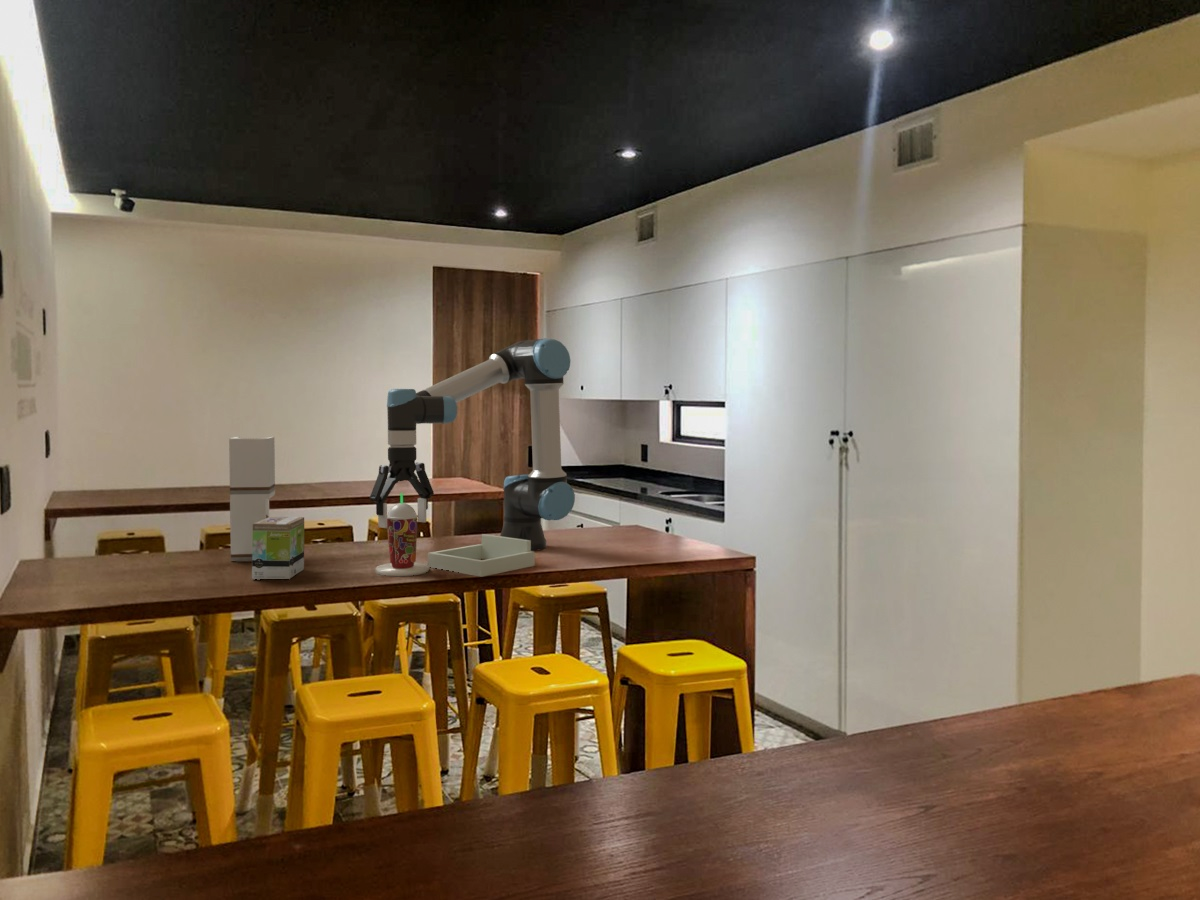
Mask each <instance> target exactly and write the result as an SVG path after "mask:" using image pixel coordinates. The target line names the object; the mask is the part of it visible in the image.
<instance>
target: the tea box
mask: <svg viewBox="0 0 1200 900" xmlns="http://www.w3.org/2000/svg"><path fill="white" fill-rule="evenodd" d="M304 569H305V517H301V516H299V517H298V516H269V517H268V518H265V519H263V520H261V521H258V522H256V523H253V542H252V561H251V579H252V580H255V579H257V580H258V581H260V579H289V580H290V579H291V578H293V577H294V576H295V575H297V574H299V573H300V572H302V571H303V570H304ZM257 580H256V581H257Z"/></svg>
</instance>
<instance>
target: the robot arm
mask: <svg viewBox="0 0 1200 900" xmlns="http://www.w3.org/2000/svg"><path fill="white" fill-rule="evenodd" d="M570 366H571V356H570V352H569V351H568V349H567V347H566V346H565V345H564V344H563V342H561V341H559V340H558V339H555V338H554V339H553V338H540V339H539V338H537V339H524V340H520V341H518V342H515V343H513V344H511V345H509V346H507V347H505V348H503V349H501V350H499V351H497V352H495V353H492V354H491V355H489V358H488V359H487V360H485V361H484V362H481V363H479V364H477V365H475V366H472V367H470V368H468V369H466V370H465V369H464V371H460V372H459V373H457V374H455V375H452V376H451V377H449V378H446V379H444V380H442V381H439V382H437V383H435V384H433V385H431V386H429V387H426V388H425V389H422V390H420V391H418V392H417V391H416V389H415V388H414V389H413V388H391V389H389V390H388V392H387V399H386V400H387V401H386V408H387V409H386V410H387V445H388V446H389V447H387V459H388V462H389V464H388V465H385V464H380V465H379V467H378V475H377V478H376V480H375V483H374V485H373V487H372V491H371V493H370V496H369V501H371V502H373V503H375V506H376V507H375V510H376V511H375V513H376V516H377V518H378V519H377V523H378V528H382V529H387V515H388V503H387V502H386V501H387V498H388V497H389V496H390V493H391V492H392V490H394V487H395V485H397V484H398V483H399V482H403V481H405V482H406V481H408V482H409V483H410V485H411V487H413V489H414V490H415V492H416V493H417V494H418V498H417V515H418V517H417V523H427V510H428V509H429V499H431V496H433V495H434V494H435V492H434V489H433V487H432V484H431V482H430V479H429V477H428V474H427V472H426V466H425V463H424V462H415V461H416V460H417V448H416V445H417V425H418V424H419V425H421V424H430V425H431V424H451V423H453V422H454V421H455V420H456V419H457V415H458V405H457V403H459V402H461V401H463V400H465V399H467V398H469V397H471V396H474V395H476V394H478V393H480V392H482V391H484V390H486V389H488V388H491V387H494V386H495V385H497V384H503V385H504V384H507V383H509V382H512V381H514V380H522V379H524V386H525V387H526V388H527V389H528V390H529V392H530V395H529V396H530V418H531V419H530V422H531V425H530V426H531V449H532V450H531V451H532V453H531V454H532V471H530V473H529V474H518V475H508V476H506V477H505V479H504V481H503V487H502V488H503V525H502V529H501V532H500V535H499V536H502V537H509V538H516V539H523V540H531V551H534V552H535V551H542V550H544V549H546V548H547V539H546V538H545V533H544V530H543V527H542V526H543V525H542V519H543V520H546V521H560V520H562V519H564V518H566V517H567V516H568V515H569V513H571V511H572V510H573V508H574V505H575V501H576V494H575V491H574V489H573V487H572V486H571V485H570V484H569V483H568V479H567V478H568V477H567V476H568V475H567V472H565V470H563V468H562V449H561V448H562V447H561V445H562V443H561V423H560V422H561V419H560V413H561V412H560V394H559V393H560V391H559V390H560V389H561V387H562V386H563V385H564V376H566V375H567V373H568V371H569V370H570Z"/></svg>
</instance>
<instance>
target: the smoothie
mask: <svg viewBox="0 0 1200 900" xmlns="http://www.w3.org/2000/svg"><path fill="white" fill-rule="evenodd" d="M403 495H404V493H403V492H400V495H399V496H400V497H399V499H400V501H399V503H397V504H395V505H393V506H392V507H391V508H390V509H389V510H388V512H387V528H386V530H387V542H388V543H387V544H388V554H389V563H392V567H393V568H410V567H413V566H414V563H416V562H417V558H416V557H417V541H418V540H417V538H418V537H417V535H418V514H417V513H416V510H415V509H414V507H413V506H411V505H410V504H409V503H405V502H404V496H403Z"/></svg>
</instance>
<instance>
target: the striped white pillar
mask: <svg viewBox="0 0 1200 900" xmlns="http://www.w3.org/2000/svg"><path fill="white" fill-rule="evenodd" d="M228 444H229V445H228V446H229V447H228V448H229V449H228V451H229V454H228V455H229V460H228V461H229V464H228V465H229V520H230V521H229V522H230V525H229V526H230V530H229V531H230V535H229V536H230V562H231V561H236V562H252V542H253V523H256V522H258V521H261V520H263V519H265V518H268V517H270V499H271V498H272V497H275V495H276V470H275V469H276V467H275V466H276V463H275V459H276V457H275V454H276V453H275V436H270V437H259V438H254V437H253V438H252V437H251V438H250V437H248V438H246V437H245V438H244V437H243V438H242V437H241V438H240V436H234V437H230V438H228Z"/></svg>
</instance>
